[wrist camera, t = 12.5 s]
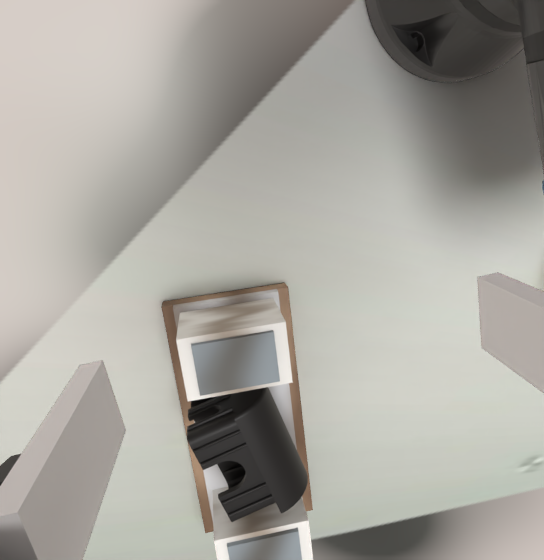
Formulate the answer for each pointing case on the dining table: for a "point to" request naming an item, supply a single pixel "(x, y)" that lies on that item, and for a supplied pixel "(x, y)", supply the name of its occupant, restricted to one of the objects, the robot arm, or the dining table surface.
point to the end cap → (247, 451)
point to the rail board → (232, 379)
